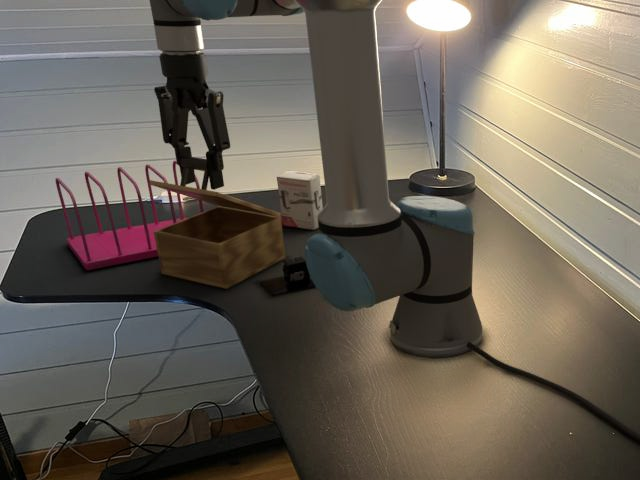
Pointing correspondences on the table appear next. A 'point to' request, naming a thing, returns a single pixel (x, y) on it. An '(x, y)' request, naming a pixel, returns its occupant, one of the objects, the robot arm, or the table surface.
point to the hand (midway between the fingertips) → (203, 185)
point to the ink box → (300, 199)
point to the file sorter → (118, 242)
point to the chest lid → (205, 194)
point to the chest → (220, 246)
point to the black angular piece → (290, 278)
